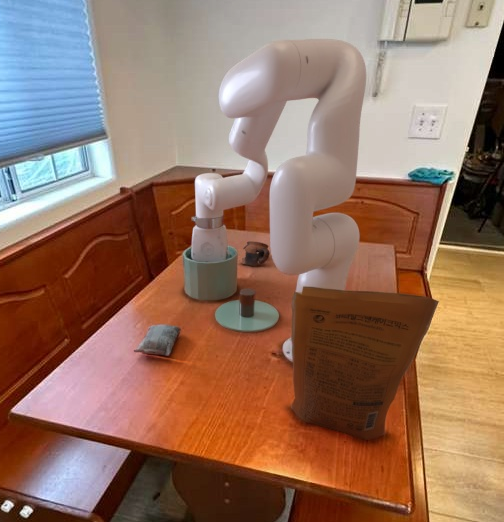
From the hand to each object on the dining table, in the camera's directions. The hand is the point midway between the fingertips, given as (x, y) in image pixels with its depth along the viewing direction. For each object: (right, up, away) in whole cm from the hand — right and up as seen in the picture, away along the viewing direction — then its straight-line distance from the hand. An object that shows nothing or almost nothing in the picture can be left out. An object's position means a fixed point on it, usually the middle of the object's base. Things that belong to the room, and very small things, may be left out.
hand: (210, 281), depth 121 cm
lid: (+9, -11, -14) cm, 20 cm away
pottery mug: (+17, +9, +18) cm, 26 cm away
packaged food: (-14, -20, -23) cm, 34 cm away
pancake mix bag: (+19, -33, -48) cm, 61 cm away
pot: (0, -2, +2) cm, 3 cm away
